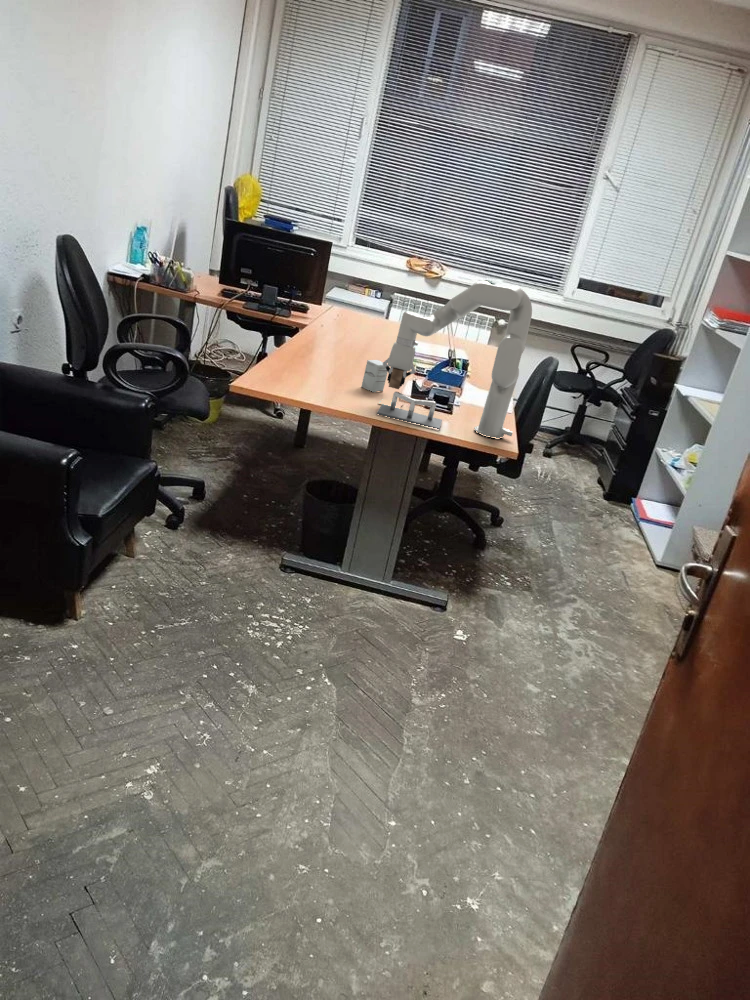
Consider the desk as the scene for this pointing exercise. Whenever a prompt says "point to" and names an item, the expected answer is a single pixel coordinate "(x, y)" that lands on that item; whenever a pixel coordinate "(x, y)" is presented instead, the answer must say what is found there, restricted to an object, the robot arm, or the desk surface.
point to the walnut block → (396, 378)
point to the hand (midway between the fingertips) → (395, 383)
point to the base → (415, 418)
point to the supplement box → (374, 376)
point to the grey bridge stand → (413, 404)
